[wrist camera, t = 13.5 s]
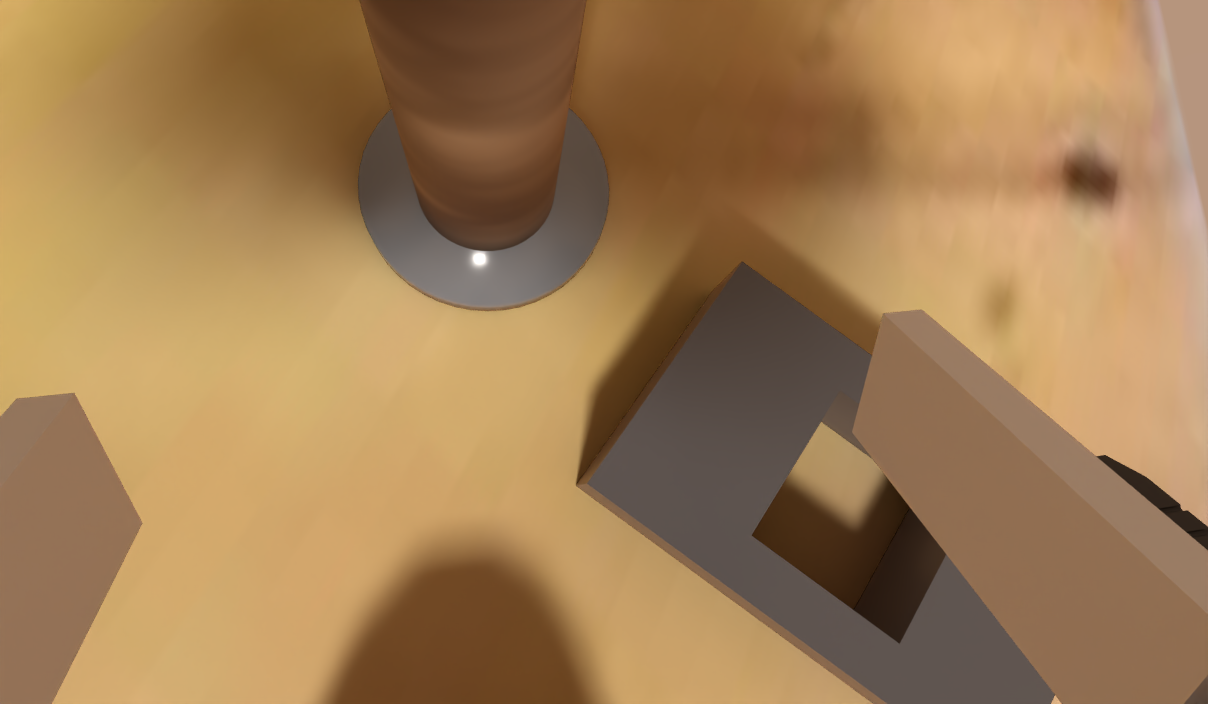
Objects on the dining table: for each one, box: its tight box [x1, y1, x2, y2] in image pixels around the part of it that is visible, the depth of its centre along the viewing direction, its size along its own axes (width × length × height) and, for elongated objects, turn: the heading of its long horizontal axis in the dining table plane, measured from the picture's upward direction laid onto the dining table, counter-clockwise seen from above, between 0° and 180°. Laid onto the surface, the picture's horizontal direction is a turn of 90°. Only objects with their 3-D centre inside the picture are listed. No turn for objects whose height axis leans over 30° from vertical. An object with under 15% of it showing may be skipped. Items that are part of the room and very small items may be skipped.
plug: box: [359, 0, 586, 251], centre depth 15 cm, size 5×5×14 cm
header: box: [576, 262, 1055, 704], centre depth 21 cm, size 14×8×3 cm, turn 55°
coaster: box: [358, 108, 609, 311], centre depth 22 cm, size 8×8×1 cm
